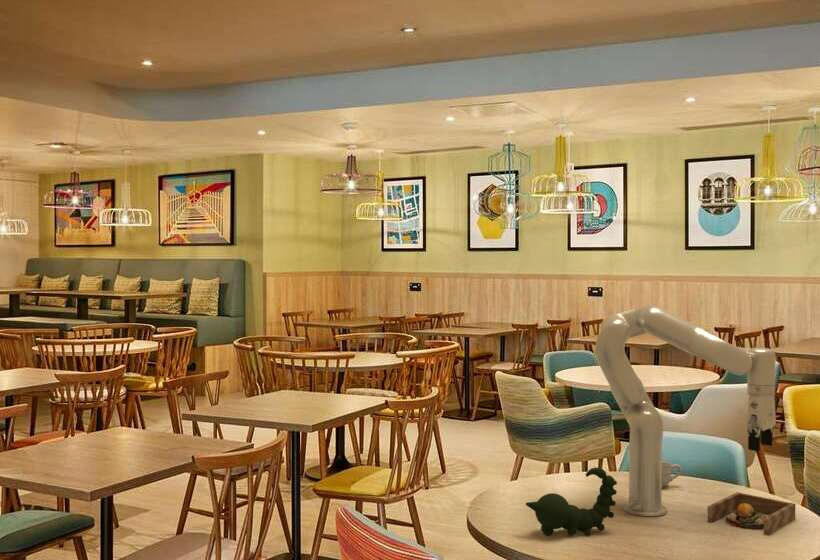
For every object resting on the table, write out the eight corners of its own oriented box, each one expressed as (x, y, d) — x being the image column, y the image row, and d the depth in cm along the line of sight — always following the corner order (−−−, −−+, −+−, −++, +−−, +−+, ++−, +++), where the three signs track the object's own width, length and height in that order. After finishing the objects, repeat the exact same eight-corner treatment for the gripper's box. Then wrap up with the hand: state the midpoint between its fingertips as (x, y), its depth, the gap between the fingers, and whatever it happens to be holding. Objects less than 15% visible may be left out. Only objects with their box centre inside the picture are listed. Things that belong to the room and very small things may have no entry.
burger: (778, 528, 242) (779, 502, 242) (743, 532, 239) (743, 505, 239) (750, 515, 254) (750, 491, 253) (716, 519, 250) (716, 494, 250)
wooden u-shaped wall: (768, 535, 235) (768, 519, 235) (707, 521, 247) (707, 506, 247) (795, 519, 250) (795, 503, 249) (736, 506, 262) (736, 492, 262)
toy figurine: (602, 531, 244) (517, 528, 239) (609, 464, 244) (523, 460, 239) (616, 542, 235) (528, 539, 230) (623, 472, 234) (535, 468, 230)
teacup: (635, 488, 282) (636, 464, 282) (640, 480, 292) (640, 457, 292) (679, 492, 277) (680, 468, 277) (682, 484, 287) (682, 460, 287)
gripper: (762, 394, 243) (761, 454, 243) (784, 387, 255) (784, 444, 256) (736, 392, 248) (735, 450, 249) (759, 385, 261) (759, 441, 261)
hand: (760, 447), depth 252 cm, fingers open, 9 cm apart
